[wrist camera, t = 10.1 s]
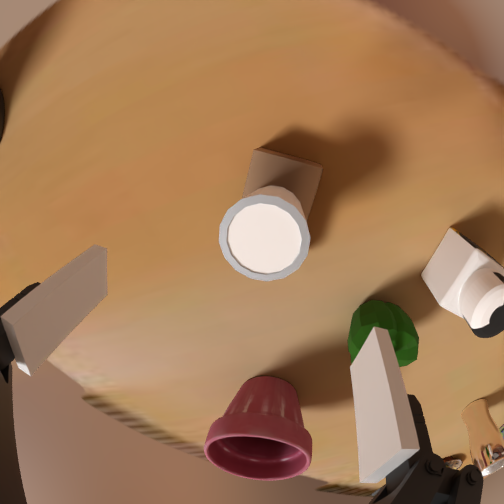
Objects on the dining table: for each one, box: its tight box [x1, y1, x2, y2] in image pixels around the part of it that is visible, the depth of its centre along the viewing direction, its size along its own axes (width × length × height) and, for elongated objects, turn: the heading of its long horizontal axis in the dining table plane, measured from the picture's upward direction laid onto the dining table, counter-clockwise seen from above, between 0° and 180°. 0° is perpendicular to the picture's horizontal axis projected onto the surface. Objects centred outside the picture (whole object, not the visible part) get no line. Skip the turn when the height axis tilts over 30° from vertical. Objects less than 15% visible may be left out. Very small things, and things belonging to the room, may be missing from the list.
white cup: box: [219, 185, 310, 281], centre depth 26 cm, size 7×7×7 cm
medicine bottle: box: [421, 227, 504, 338], centre depth 26 cm, size 7×7×12 cm
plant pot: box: [204, 376, 312, 480], centre depth 38 cm, size 14×14×13 cm
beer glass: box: [461, 399, 504, 477], centre depth 33 cm, size 7×7×15 cm
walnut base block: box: [242, 147, 323, 223], centre depth 31 cm, size 6×11×4 cm, turn 166°
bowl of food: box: [444, 456, 463, 470], centre depth 46 cm, size 12×12×8 cm
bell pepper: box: [348, 300, 419, 367], centre depth 31 cm, size 8×8×10 cm
